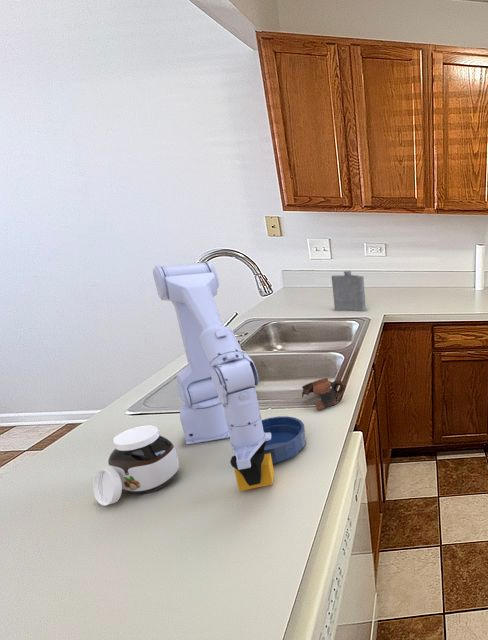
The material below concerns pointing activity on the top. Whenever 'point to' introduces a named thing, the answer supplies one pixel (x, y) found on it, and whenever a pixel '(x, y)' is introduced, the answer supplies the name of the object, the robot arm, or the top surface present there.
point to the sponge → (266, 475)
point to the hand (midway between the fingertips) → (256, 476)
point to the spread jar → (136, 465)
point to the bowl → (284, 437)
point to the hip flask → (348, 292)
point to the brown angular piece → (324, 392)
